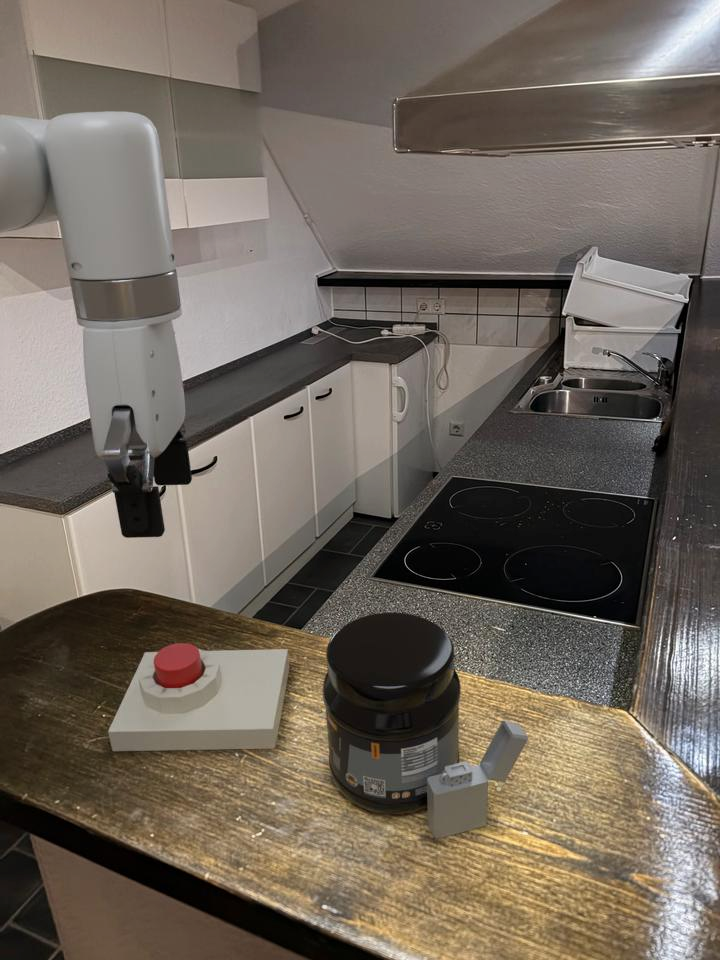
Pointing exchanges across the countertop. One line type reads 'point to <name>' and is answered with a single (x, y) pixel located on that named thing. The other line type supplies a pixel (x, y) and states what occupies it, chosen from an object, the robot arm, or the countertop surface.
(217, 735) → the grey button base
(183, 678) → the power button
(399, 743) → the supplement container
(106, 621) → the countertop surface
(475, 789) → the lighter
